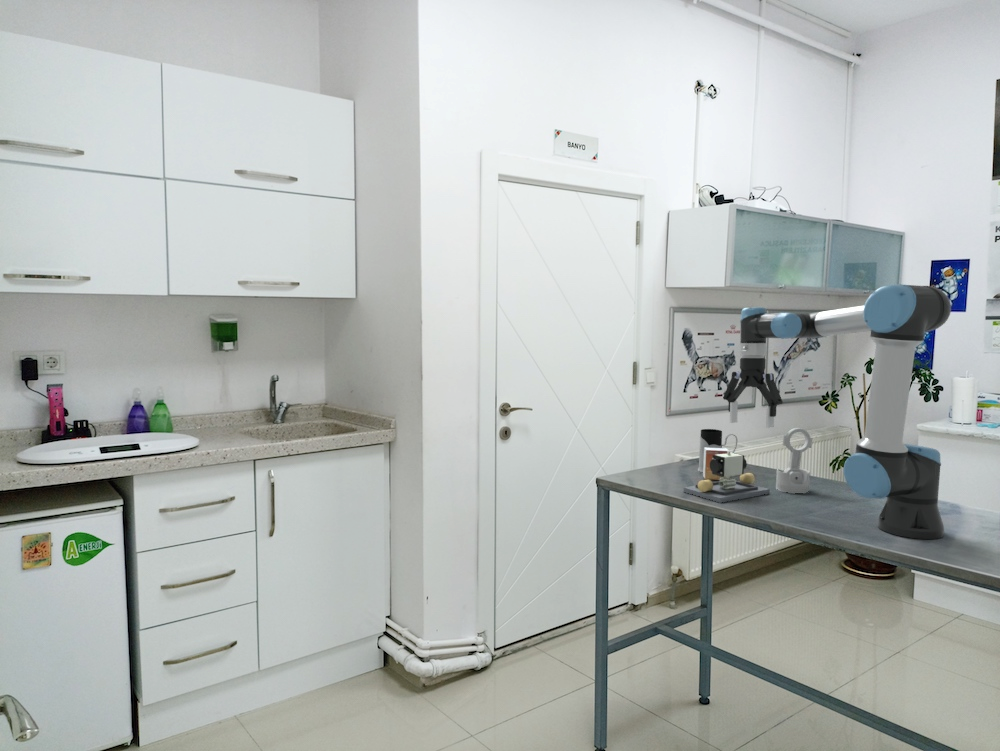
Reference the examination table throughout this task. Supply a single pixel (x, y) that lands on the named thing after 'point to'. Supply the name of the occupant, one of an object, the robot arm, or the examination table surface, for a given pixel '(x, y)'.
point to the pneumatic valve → (728, 468)
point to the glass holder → (710, 443)
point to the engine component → (794, 466)
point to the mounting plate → (722, 495)
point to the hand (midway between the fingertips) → (751, 424)
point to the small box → (708, 457)
